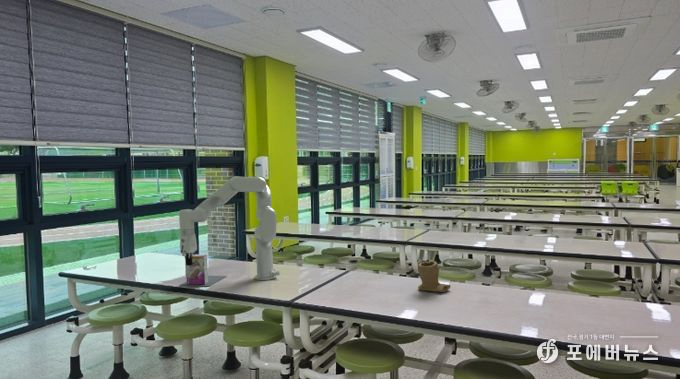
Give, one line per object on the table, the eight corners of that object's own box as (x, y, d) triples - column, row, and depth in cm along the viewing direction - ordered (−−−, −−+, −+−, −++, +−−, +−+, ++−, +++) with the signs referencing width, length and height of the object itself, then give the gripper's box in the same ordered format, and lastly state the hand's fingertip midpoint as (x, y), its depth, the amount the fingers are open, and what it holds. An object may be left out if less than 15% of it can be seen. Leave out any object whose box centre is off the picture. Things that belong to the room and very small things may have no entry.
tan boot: (413, 292, 228) (413, 262, 227) (423, 286, 238) (422, 258, 237) (442, 296, 219) (442, 265, 218) (451, 289, 229) (450, 260, 228)
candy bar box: (186, 284, 254) (184, 256, 253) (190, 282, 259) (188, 254, 258) (205, 285, 252) (203, 256, 251) (208, 282, 257) (207, 254, 256)
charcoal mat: (226, 276, 271) (226, 275, 271) (208, 286, 250) (208, 286, 250) (199, 276, 275) (199, 275, 275) (179, 286, 254) (179, 285, 254)
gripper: (186, 234, 238) (188, 268, 239) (200, 229, 253) (202, 262, 254) (173, 234, 240) (175, 268, 241) (188, 229, 254) (190, 261, 256)
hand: (189, 264), depth 247 cm, fingers closed
